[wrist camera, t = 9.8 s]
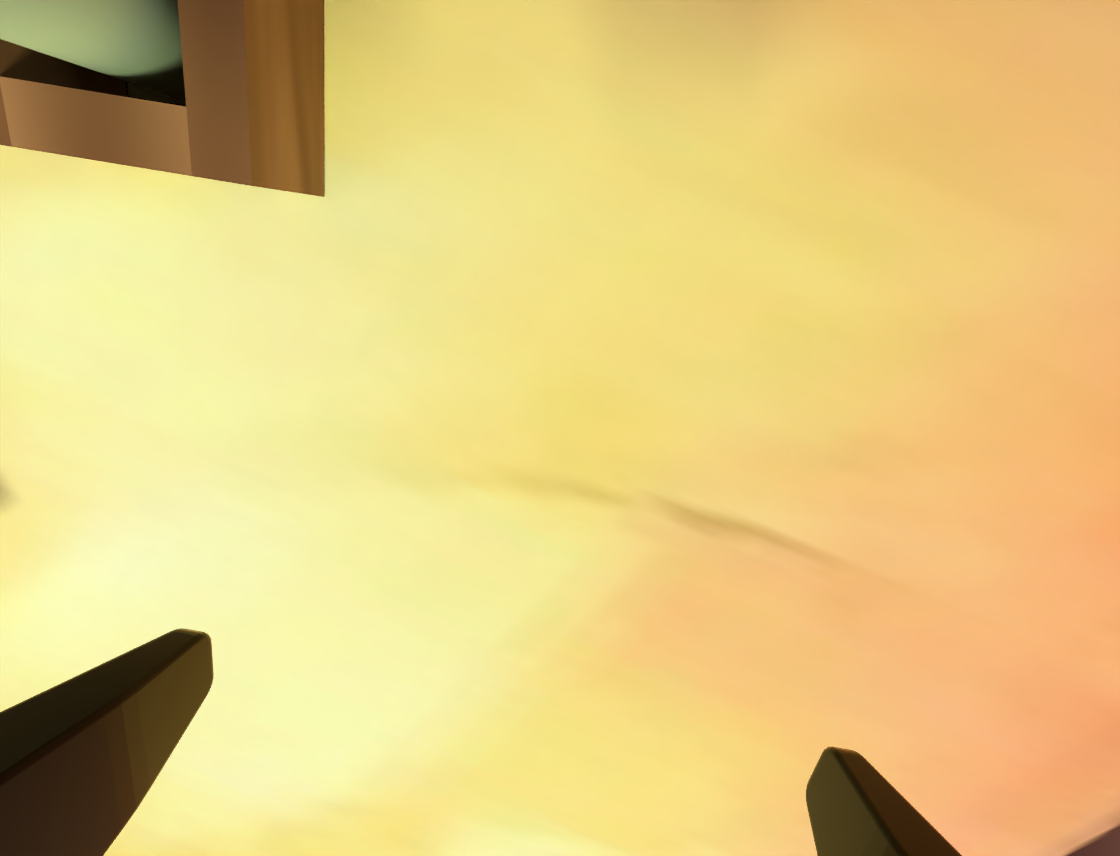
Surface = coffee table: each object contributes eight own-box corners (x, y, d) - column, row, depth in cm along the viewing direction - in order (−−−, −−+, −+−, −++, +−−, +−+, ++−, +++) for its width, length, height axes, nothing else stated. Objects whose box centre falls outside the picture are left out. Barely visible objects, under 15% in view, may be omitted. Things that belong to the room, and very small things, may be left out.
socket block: (323, -110, 15) (232, -227, 11) (324, 196, 18) (252, 185, 14) (44, -155, 15) (-142, -287, 11) (88, 158, 18) (-48, 136, 14)
